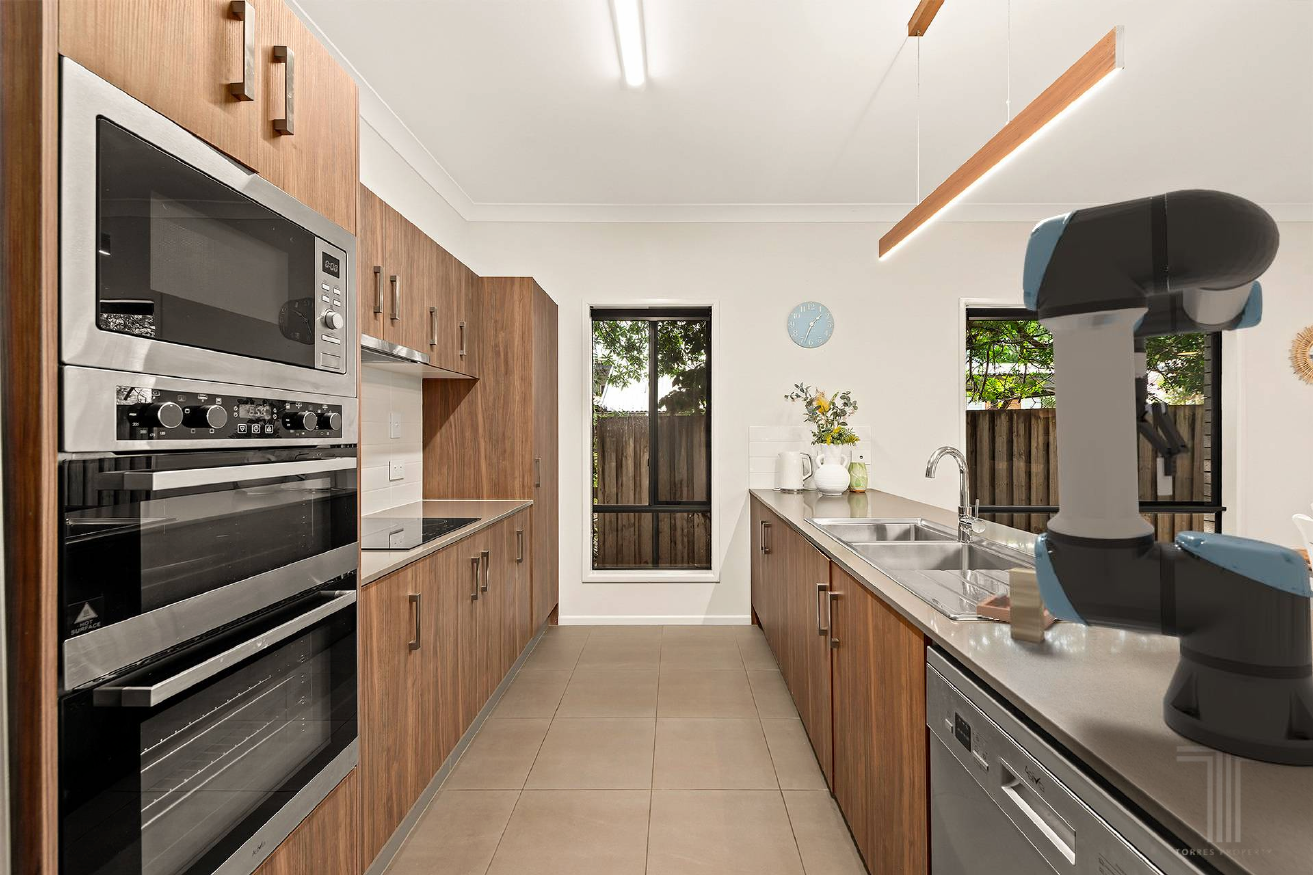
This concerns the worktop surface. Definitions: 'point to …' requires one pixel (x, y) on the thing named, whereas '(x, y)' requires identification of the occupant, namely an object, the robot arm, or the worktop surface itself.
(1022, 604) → the tan wooden block
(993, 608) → the candle dish
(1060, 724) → the worktop surface
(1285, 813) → the worktop surface
